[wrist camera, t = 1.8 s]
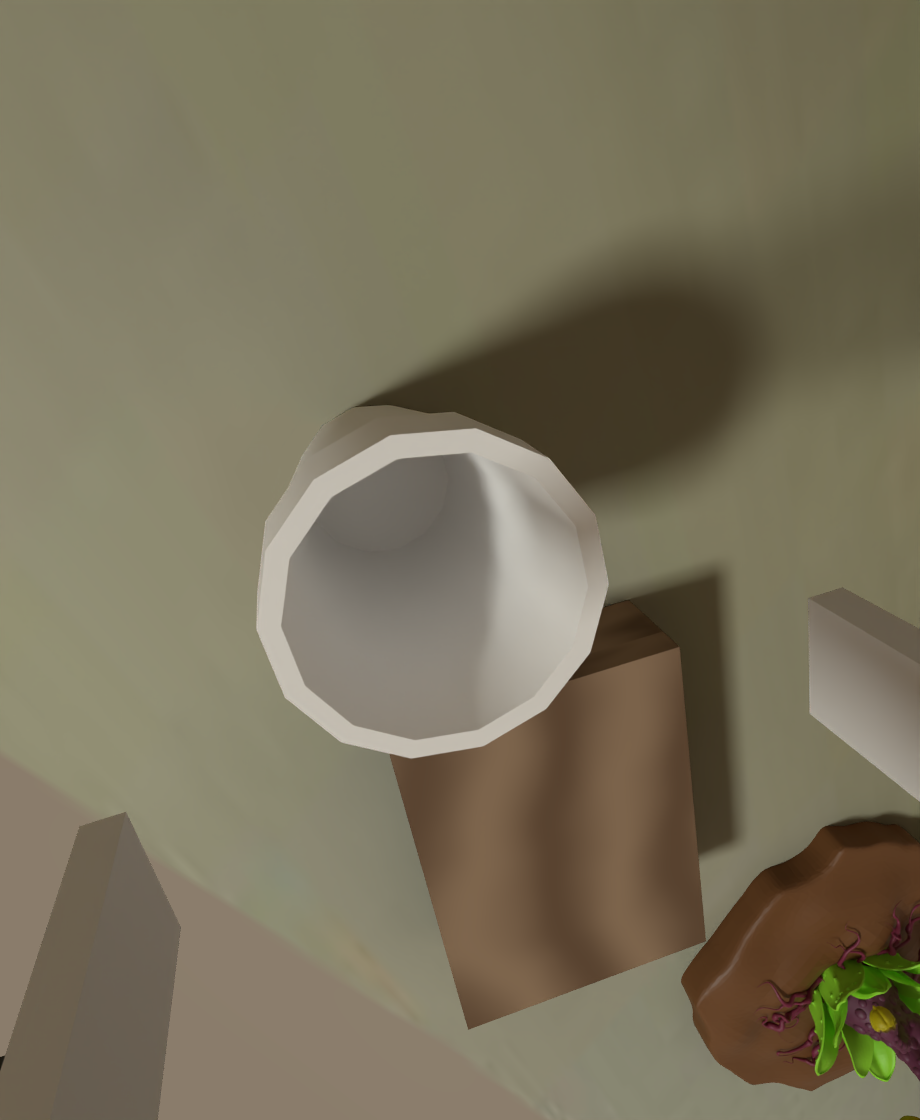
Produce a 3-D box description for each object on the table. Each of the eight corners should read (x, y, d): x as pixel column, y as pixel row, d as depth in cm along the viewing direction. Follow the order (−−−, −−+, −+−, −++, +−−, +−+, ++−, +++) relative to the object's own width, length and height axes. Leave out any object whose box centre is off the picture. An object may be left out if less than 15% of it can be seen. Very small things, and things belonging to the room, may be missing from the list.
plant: (626, 998, 48) (722, 1195, 38) (847, 778, 45) (1014, 926, 35) (797, 1087, 56) (914, 1269, 46) (992, 904, 53) (1162, 1054, 43)
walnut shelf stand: (628, 599, 37) (679, 646, 32) (660, 871, 44) (705, 941, 39) (369, 676, 35) (384, 738, 30) (446, 947, 42) (468, 1029, 38)
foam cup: (525, 484, 33) (667, 603, 22) (371, 623, 34) (428, 812, 22) (380, 314, 29) (457, 345, 18) (209, 475, 30) (174, 609, 18)
